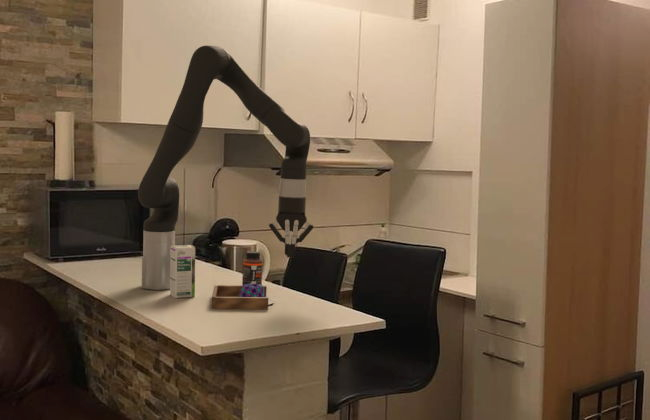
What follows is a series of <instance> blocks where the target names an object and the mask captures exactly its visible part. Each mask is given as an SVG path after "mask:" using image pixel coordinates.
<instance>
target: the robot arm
mask: <svg viewBox="0 0 650 420" xmlns="http://www.w3.org/2000/svg"><path fill="white" fill-rule="evenodd" d="M191 55H192V56H191V58H190V61H189V63H188V64H189V65H188V68H187V71H186V73H185V74H186V75H185V78H184V82H183V85H182V88H181V91H180V93H179V95H178V97H177V99H176V100H177V101H176V103H175V104H174V105H175V106H174V108H173V110H172V113H171V114H170V117H169V120H168V121H167V125H166V126H165V129H164V132H163V135H162V138H161V140H160V143H159V145H158V147H157V149H156V151H155V154H154V157H153V159H152V160H151V162H150V164H149V165H148V168H147V170H146V171H145V173H144V175H143V177H142V179H141V180H140V183H139V187H138V191H137V198H138V202H139V203H140V205H141V206H142V207H144V208H146V209H154V210H153V213H152V214H151V215H150V216H149V217H148V218H146V219H145V220H144V221H143V237H142V238H143V241H142V242H143V247H142V248H143V249H142V251H143V252H142V255H143V256H141V289H147V290H154V291H155V290H157V291H159V290H161V291H162V290H163V291H164V290H170V246H173V245H176V225H177V223H178V219H179V212H180V211H179V209H180V187H179V185H178V183H177V181H176V180H175V179H174V178H172V177H170V175H171V173H172V171H173V169H175V167H176V166H177V165H178V164H179V163H180V161H181V160H182V159H184V158H185V156H186V155H187V154H188V153H189V152H190V151H192V149H193V147H194V145H196V144H195V143H196V142H197V139H198V137H199V135H200V132H201V130H202V126H203V123H204V122H203V121H204V106H205V99H206V97H207V94H208V92H209V90H210V87H211V85H212V83H213V81H214V80H217V81H219V82H220V83H222V84H224V85H225V86H227V87H228V88H229V89H230V90H231V91H233V92H234V94H236V95H237V98H239V100H240V101H241V103H242V104H243V105H244V107H245V108H246V109H247V111H248V112H249V113H250V114H251V115H252V116H253V117H254V118H256V119H257V120H258V121H259V122H260V123H261V124H263V126H264V127H266V128H267V129H268V130H269V131H270V133H271V134H272V136H274V138H275V139H277V141H279V142H280V143H281V144H282V145H283V146H284V147H285V153H284V157H283V158H282V160H281V164H280V180H279V188H278V203H277V204H278V206H277V207H278V209H277V215H276V216H275V220H273V221H272V222H269V223H268V227H269V228H270V229H271V231H272V232H273V234H274V235H275V236H276V238H277V239H278V240H279V242H282V243H283V244H284V254H285V256H286V257H287V258H293V257H294V256H295V255H296V245H297V244H298V243H302V242H303V240H305V239H306V237H308V236H309V234H310V233H311V232H312V230H313V229H314V225H313V224H312V223H310V222H309V221H308V219H307V216H306V204H307V201H306V200H307V199H306V198H307V161H308V155H309V151H310V146H311V145H310V144H311V134H310V133H311V132H310V131H309V128H308V126H307V125H305V124H303V123H301V122H297V121H295V120H294V119H292V117H290V115H288V114H287V113H286V111H285V109H284V107H282V106H281V105H280V104H279V103H278V102H277V101H276V100H275V99H273V98H272V97H271V96H270V95H269V94H268V93H267V92H265V91H264V90H263V88H261V87H260V86H259V85H258V84H257V83H256V82H254V80H252V78H250V77H249V75H248V74H247V73H246V72H245V71H244V69H242V68H241V66H240V65H239V64H238V62H237V61H235V58H233V56H232V55H231V54H230V52H228V51H227V50H226V49H225V48H223V47H222V46H218V45H208V44H207V45H202V46H200V47H198V48H197V49H195V51H194V52H193V54H191ZM279 226H280V228H281V229H282V230H283V232H284V236H283V235H282V234H281V233H280V231H279V230H278V227H279ZM303 226H304V227H303ZM302 228H304V230H303V231H302V232H301V233H300V234H299V236H298V232H299V231H300V230H301V229H302ZM290 232H291V233H290ZM290 235H291V237H290ZM297 236H298V237H297Z"/></svg>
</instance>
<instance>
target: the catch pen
mask: <svg viewBox="0 0 650 420" xmlns="http://www.w3.org/2000/svg"><path fill="white" fill-rule="evenodd" d="M242 286H243V285H237V284H236V285H235V284H233V285H232V284H231V285H230V284H229V285H228V284H226V285H225V284H217V285H214V286H213V288H212V289H213V290H212V294H211V309H215V310H269V305H268V299H269V297H267V288H268V287H267V285H262V286H263V287H264V292H265V296H266V297H239V295H240V292H241V288H242Z"/></svg>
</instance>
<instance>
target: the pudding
mask: <svg viewBox="0 0 650 420" xmlns="http://www.w3.org/2000/svg"><path fill="white" fill-rule="evenodd" d="M263 286H264V285H263V284H262V285H260V284H245V285H243V286H242V288H241V292H240V295H239V296H238V297H267V295H266V296H265V292H264V287H263ZM274 303H275V301H274V300H273V299H272V298H268V306H270V305H271V304H274Z"/></svg>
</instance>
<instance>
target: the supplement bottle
mask: <svg viewBox="0 0 650 420" xmlns="http://www.w3.org/2000/svg"><path fill="white" fill-rule="evenodd" d="M245 254H246V257H245V258H244V259H243V260H242V281H241V282H242V283H241V284H242V285H245V284H260V285H262V286H263V284H262V283H263V259H261V257H260V256H261V254H260V251H256V250H255V251H254V250H250V251H249V250H248V251H246V253H245Z"/></svg>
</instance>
